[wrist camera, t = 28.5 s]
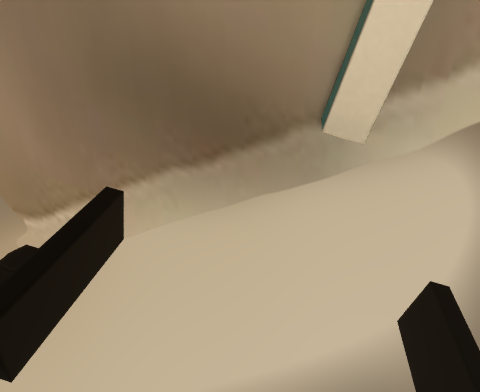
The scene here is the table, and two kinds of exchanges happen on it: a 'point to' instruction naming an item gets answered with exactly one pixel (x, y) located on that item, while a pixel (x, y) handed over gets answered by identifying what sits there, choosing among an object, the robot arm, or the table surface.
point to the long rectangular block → (372, 65)
